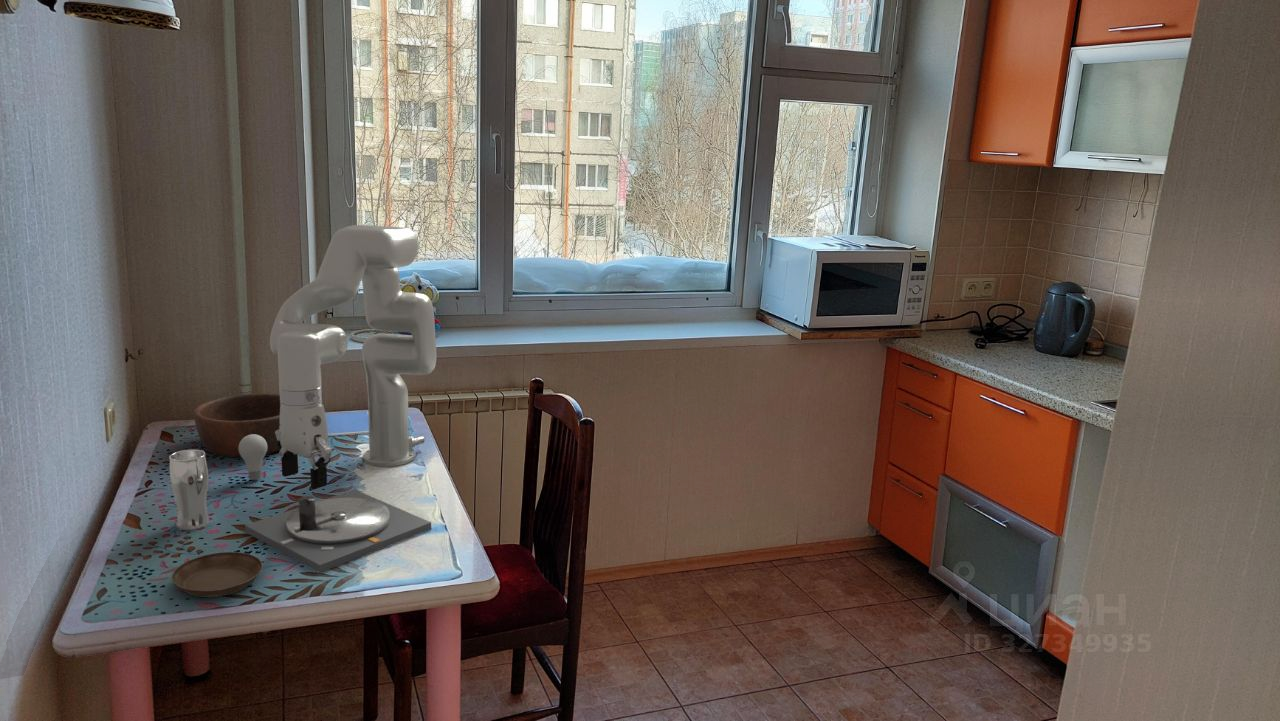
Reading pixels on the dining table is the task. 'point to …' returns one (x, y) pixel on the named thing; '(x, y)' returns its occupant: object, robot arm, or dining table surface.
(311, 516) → the dial
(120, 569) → the dining table surface
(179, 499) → the beer glass
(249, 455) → the lightbulb
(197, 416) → the wooden bowl
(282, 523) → the dial plate
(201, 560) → the saucer
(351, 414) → the tablet computer
